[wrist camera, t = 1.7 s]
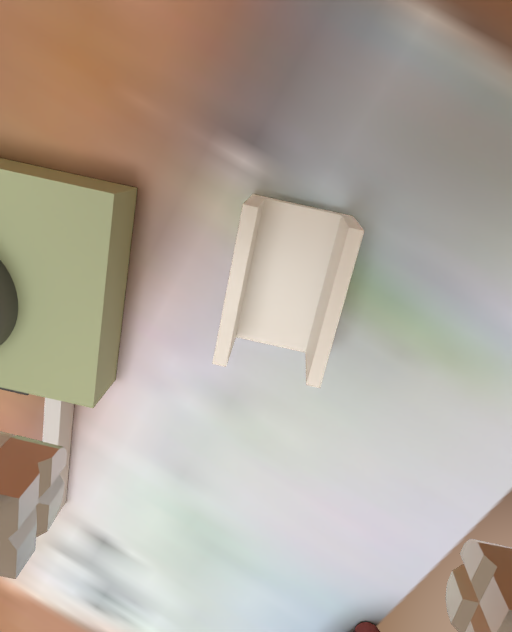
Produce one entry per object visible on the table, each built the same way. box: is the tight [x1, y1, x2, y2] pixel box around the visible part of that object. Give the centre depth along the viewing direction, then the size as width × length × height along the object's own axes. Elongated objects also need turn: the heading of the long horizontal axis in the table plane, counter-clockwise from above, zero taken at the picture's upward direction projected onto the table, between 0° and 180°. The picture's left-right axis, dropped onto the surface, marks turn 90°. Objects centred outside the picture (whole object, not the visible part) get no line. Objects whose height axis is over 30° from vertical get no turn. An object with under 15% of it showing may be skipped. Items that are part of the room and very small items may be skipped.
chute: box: [212, 194, 364, 388], centre depth 25 cm, size 8×6×5 cm
